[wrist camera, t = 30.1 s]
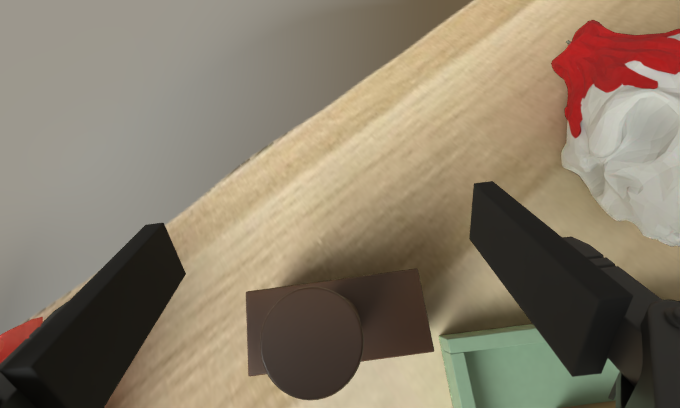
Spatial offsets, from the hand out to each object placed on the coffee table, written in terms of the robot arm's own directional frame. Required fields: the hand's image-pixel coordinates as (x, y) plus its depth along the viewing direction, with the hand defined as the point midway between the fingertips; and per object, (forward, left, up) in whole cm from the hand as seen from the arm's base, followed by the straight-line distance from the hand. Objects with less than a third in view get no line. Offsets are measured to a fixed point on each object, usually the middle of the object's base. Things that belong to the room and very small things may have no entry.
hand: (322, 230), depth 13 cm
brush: (+2, +4, -9) cm, 10 cm away
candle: (-22, +3, -9) cm, 24 cm away
